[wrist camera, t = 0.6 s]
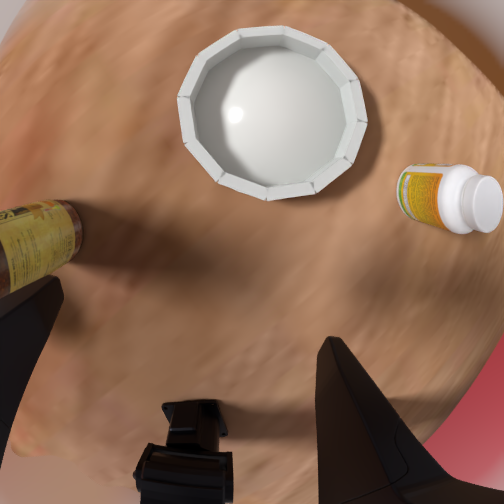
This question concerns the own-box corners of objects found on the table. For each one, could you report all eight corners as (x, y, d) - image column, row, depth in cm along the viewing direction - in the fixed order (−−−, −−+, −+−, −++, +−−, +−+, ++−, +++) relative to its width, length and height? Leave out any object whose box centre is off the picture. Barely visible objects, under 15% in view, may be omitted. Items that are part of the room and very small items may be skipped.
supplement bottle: (411, 230, 24) (480, 259, 15) (384, 184, 23) (456, 194, 14) (444, 198, 24) (514, 213, 14) (420, 153, 22) (493, 151, 13)
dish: (362, 186, 23) (378, 188, 20) (199, 210, 23) (193, 215, 20) (334, 39, 19) (345, 25, 16) (175, 54, 19) (168, 40, 16)
